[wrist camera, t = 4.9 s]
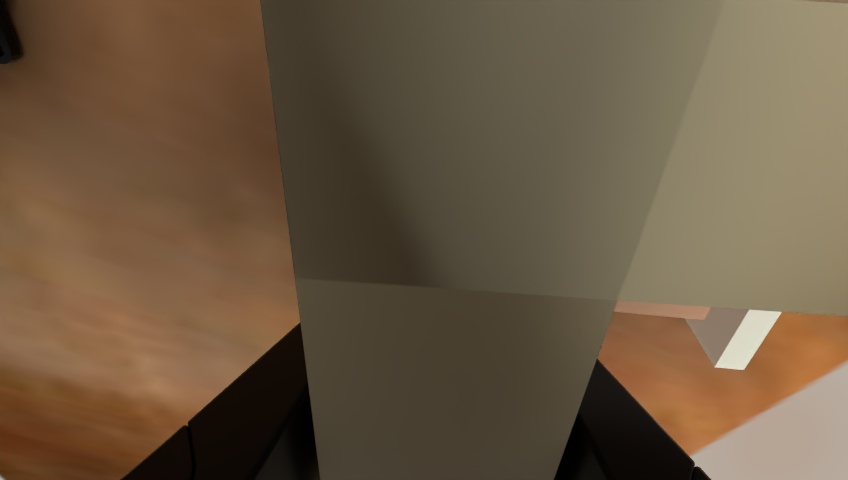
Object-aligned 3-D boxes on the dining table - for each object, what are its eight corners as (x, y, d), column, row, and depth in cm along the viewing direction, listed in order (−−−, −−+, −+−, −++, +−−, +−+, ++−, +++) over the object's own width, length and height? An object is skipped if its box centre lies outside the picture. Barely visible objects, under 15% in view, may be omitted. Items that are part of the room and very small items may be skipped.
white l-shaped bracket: (480, 291, 22) (484, 344, 19) (549, -86, 14) (575, -95, 11) (704, 312, 22) (743, 369, 19) (901, -53, 14) (1020, -53, 11)
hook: (370, 502, 14) (345, 682, 10) (359, -44, 6) (255, -34, 3) (773, 533, 14) (879, 724, 10) (1253, 9, 6) (2217, 86, 3)
